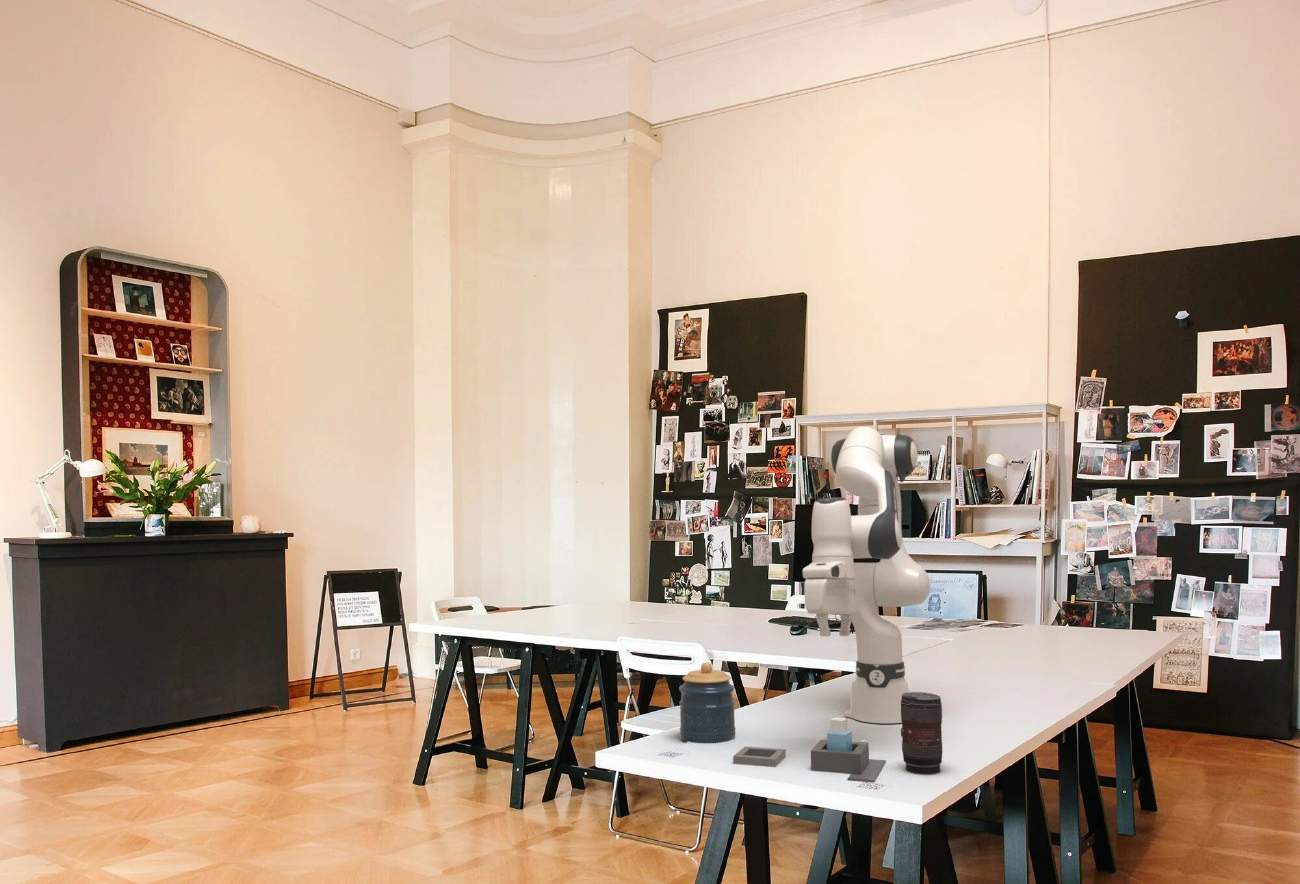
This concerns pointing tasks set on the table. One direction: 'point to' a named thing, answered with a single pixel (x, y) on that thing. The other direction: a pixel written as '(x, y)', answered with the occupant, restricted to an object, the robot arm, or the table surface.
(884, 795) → the table surface
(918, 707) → the camera lens
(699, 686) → the canister
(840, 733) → the plug
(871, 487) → the robot arm
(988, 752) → the table surface
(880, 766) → the port
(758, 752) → the grey square tray
